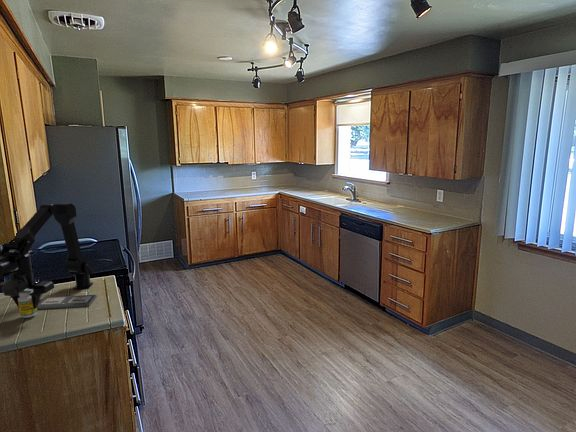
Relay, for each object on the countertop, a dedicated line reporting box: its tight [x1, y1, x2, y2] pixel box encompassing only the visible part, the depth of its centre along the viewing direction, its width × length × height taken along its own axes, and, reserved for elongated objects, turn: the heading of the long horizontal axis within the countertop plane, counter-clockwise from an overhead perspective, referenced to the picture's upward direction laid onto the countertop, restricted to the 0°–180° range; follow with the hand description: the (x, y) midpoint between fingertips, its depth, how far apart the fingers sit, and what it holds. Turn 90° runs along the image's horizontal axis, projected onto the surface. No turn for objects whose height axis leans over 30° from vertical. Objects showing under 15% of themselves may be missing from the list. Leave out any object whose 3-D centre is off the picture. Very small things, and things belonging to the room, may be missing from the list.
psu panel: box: [37, 294, 98, 310], centre depth 154 cm, size 9×20×2 cm, turn 98°
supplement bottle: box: [18, 289, 38, 319], centre depth 142 cm, size 5×5×10 cm
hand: (28, 308), depth 142 cm, fingers closed on supplement bottle, 5 cm apart
